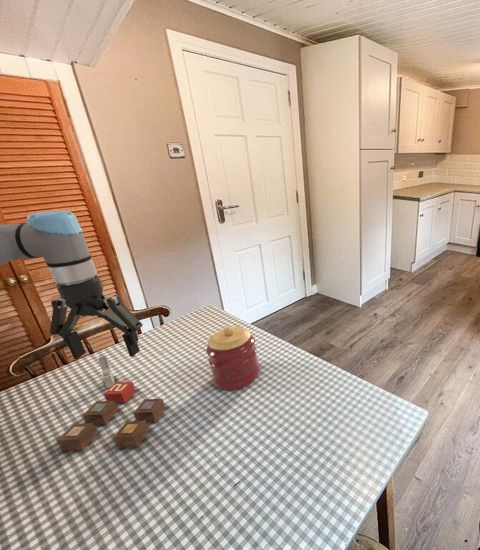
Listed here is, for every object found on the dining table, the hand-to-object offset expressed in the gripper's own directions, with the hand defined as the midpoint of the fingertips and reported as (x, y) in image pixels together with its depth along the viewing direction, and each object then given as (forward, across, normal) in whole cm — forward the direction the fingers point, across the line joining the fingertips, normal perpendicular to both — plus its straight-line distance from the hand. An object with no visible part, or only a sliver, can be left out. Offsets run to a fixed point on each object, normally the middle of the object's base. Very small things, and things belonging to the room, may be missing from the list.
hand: (107, 354), depth 78 cm
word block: (+15, +1, +14) cm, 20 cm away
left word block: (+15, +1, +7) cm, 16 cm away
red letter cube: (+15, +1, 0) cm, 15 cm away
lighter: (+15, +9, -7) cm, 19 cm away
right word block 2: (+15, -11, +7) cm, 20 cm away
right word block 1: (+15, -11, +14) cm, 23 cm away
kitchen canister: (+15, -28, -7) cm, 33 cm away
